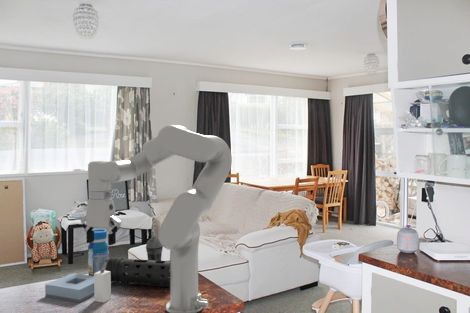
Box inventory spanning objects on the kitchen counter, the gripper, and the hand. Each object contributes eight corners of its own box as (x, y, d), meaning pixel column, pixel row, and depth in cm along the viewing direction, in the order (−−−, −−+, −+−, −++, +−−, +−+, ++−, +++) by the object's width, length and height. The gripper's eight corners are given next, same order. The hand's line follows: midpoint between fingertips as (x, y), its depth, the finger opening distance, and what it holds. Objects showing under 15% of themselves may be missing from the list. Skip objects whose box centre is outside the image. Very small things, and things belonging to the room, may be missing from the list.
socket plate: (106, 289, 158) (105, 277, 158) (79, 302, 145) (79, 289, 145) (73, 284, 164) (73, 273, 164) (45, 296, 151) (45, 284, 151)
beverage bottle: (102, 283, 165) (101, 233, 165) (83, 281, 168) (82, 232, 167) (113, 276, 174) (112, 229, 173) (95, 274, 176) (95, 228, 175)
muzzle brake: (168, 291, 156) (168, 264, 155) (100, 287, 161) (100, 260, 161) (177, 283, 165) (176, 257, 165) (112, 279, 171) (112, 254, 170)
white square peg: (111, 298, 149) (110, 267, 148) (103, 302, 145) (103, 271, 145) (102, 297, 150) (101, 266, 150) (94, 301, 146) (94, 269, 146)
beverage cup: (142, 275, 174) (142, 228, 174) (151, 270, 181) (150, 225, 181) (158, 277, 172) (157, 229, 172) (166, 271, 179) (165, 226, 179)
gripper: (126, 195, 147) (127, 242, 147) (88, 193, 154) (89, 239, 154) (112, 197, 140) (113, 247, 140) (73, 196, 147) (74, 243, 147)
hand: (101, 243), depth 147 cm, fingers open, 9 cm apart
